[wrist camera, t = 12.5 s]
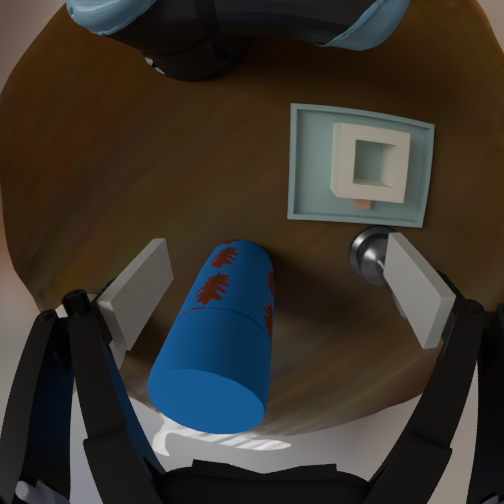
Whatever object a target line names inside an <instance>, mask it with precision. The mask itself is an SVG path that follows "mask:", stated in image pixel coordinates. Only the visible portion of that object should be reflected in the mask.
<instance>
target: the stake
mask: <svg viewBox="0 0 504 504" xmlns="http://www.w3.org/2000/svg"><path fill="white" fill-rule="evenodd" d="M389 233H396V232H395V231H394V230H392V229H391V228H389V227H386V226H382V225H376V226H371V227H368V228H366V229H364V230H363V231H361V232H360V233H359V234H358V235H357V236H356V237H355V238H354V240H353V242H352V244H351V246H350V249H349V262H350V265H351V267H352V269H353V271H354V272H355V273H356V274H357V275H358V276H359V277H361V278H364V279H365V280H366V281H367V282H368V283H370V284H372V285H376V286H383V285H385V286H386V288H387V290H388V292H389V293H390V295H391V297H392V299H393V301H394V302H395V304H396V306H397V308H398V310H399V312H400V314H401V316H402V317H403V318H404V319H405V320H408V318H407V317H406V315H405V313H404V311H403V309H402V307H401V305H400V303H399V302H398V300H397V298H396V296H395V294H394V293H393V291H392V289H391V287H390V286H389V284H388V282H387V280H386V279H385V277H384V275H383V272H384V266H385V259H386V253H387V245H388V238H389Z"/></svg>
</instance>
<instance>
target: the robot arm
mask: <svg viewBox="0 0 504 504" xmlns="http://www.w3.org/2000/svg"><path fill="white" fill-rule="evenodd" d="M409 2H410V0H67V1H66V4H67V10H68V13H69V15H70V16H71V17H72V19H73V20H74V21H75V22H76V23H78V24H79V25H81V26H83V27H85V28H87V29H88V30H90V31H91V32H92V33H94V34H97V35H104V36H107V37H110V38H112V39H115V40H117V41H120V42H122V43H125V44H127V45H129V46H132V47H134V48H136V49H139V50H141V52H142V54H143V56H144V58H145V60H146V61H147V63H148V64H149V65H150V66H151V67H152V68H153V69H154V70H155V71H157V72H158V73H160V74H162V75H164V76H167V77H169V78H172V79H175V80H180V81H198V80H203V79H207V78H210V77H213V76H215V75H217V74H219V73H221V72H223V71H225V70H226V69H228V68H229V67H230V66H231V65H233V64H234V63H235V62H236V61H237V60H238V59H239V58H240V56H241V55H242V54H243V52H244V51H245V49H246V47H247V45H248V42H249V39H250V37H264V38H276V39H285V40H294V41H301V42H308V43H314V44H315V45H316V46H320V47H328V46H333V47H339V48H345V49H350V50H356V51H363V50H367V49H369V48H374V47H376V46H378V45H379V44H381V43H382V42H383V41H385V40H386V39H387V38H388V37H389V36H390V35H391V34H392V32H393V31H394V30H395V29H396V27H397V26H398V24H399V23H400V21H401V19H402V18H403V16H404V14H405V12H406V10H407V7H408V5H409ZM383 275H384V277H385V279H386V280H387V282H388V284H389V286H390V287H391V289H392V291H393V293H394V294H395V296H396V298H397V300H398V302H399V303H400V305H401V307H402V309H403V311H404V313H405V315H406V317H407V318H408V320H409V322H410V324H411V326H412V328H413V330H414V332H415V334H416V336H417V338H418V340H419V342H420V344H421V346H422V348H423V349H428V348H434V347H437V345H438V343H439V340H440V338H441V337H442V339H443V341H444V345H443V347H442V349H441V351H440V354H439V356H438V358H437V362H436V365H435V367H434V369H433V372H432V374H431V376H430V379H429V381H428V383H427V385H426V388H425V390H424V392H423V394H422V396H421V398H420V400H419V402H418V404H417V406H416V408H415V410H414V412H413V414H412V416H411V417H410V419H409V421H408V423H407V425H406V426H405V428H404V430H403V432H402V434H401V435H400V437H399V438H398V440H397V442H396V443H395V445H394V447H393V448H392V450H391V451H390V453H389V455H388V456H387V457H386V459H385V460H384V462H383V463H382V465H381V466H380V468H379V469H378V470H377V471H376V473H375V474H374V475H373V476H372V478H371V479H370V480H369V481H368V482H367V481H366V480H364V479H362V478H360V477H358V476H356V475H353V474H350V473H346V472H340V471H337V469H336V464H325V465H310V466H299V467H294V468H290V469H286V470H281V471H277V472H271V473H266V474H261V473H257V472H254V471H250V470H247V469H243V468H240V467H236V466H233V465H230V464H227V463H218V462H209V461H202V460H195V459H194V460H193V464H192V467H184V468H178V469H175V470H171V471H169V472H166V471H165V470H164V468H163V467H162V465H161V464H160V463H159V461H158V459H157V457H156V456H155V454H154V452H153V450H152V448H151V446H150V444H149V442H148V440H147V438H146V436H145V434H144V431H143V429H142V427H141V425H140V423H139V421H138V419H137V416H136V414H135V412H134V409H133V407H132V404H131V402H130V400H129V397H128V395H127V392H126V390H125V387H124V384H123V382H122V379H121V376H120V373H119V371H118V368H117V365H116V362H115V359H114V356H113V353H112V350H111V348H110V346H109V344H110V343H111V341H112V340H113V341H114V344H115V346H116V348H117V349H122V350H129V351H130V350H131V348H132V347H133V345H134V343H135V341H136V340H137V338H138V336H139V334H140V333H141V331H142V329H143V328H144V326H145V324H146V323H147V321H148V319H149V318H150V316H151V314H152V313H153V311H154V309H155V308H156V306H157V304H158V303H159V301H160V299H161V298H162V296H163V294H164V293H165V291H166V290H167V288H168V286H169V285H170V283H171V282H172V280H173V274H172V269H171V265H170V260H169V255H168V250H167V245H166V240H165V238H161V239H153V240H152V241H151V242H150V243H149V244H148V245H147V246H146V247H145V248H144V249H143V250H142V251H141V253H140V254H139V255H138V256H137V257H136V258H135V259H134V260H133V261H132V262H131V263H130V264H129V265H128V266H127V267H126V268H125V270H124V271H123V272H122V273H121V274H120V275H119V276H118V277H116V278H114V279H113V280H111V281H110V282H108V283H107V285H106V286H105V287H104V288H103V289H102V290H101V291H100V293H98V295H97V296H96V297H95V298H94V299H93V300H92V301H91V302H90V300H89V298H88V295H87V293H86V291H85V290H83V289H77V290H73V291H71V292H69V293H67V294H66V295H65V296H64V297H63V298H62V300H61V302H62V305H63V307H64V309H65V311H66V314H67V316H68V317H61V318H59V317H58V314H57V312H56V311H55V310H53V309H50V310H45V311H43V312H41V313H40V314H39V315H38V316H37V318H36V319H35V322H34V324H33V326H32V329H31V331H30V334H29V336H28V339H27V341H26V344H25V347H24V350H23V352H22V355H21V358H20V361H19V364H18V367H17V370H16V374H15V377H14V380H13V384H12V387H11V391H10V395H9V399H8V403H7V407H6V411H5V417H4V421H3V426H2V431H1V438H0V504H70V502H69V499H70V488H71V486H70V422H71V407H72V395H73V385H74V377H75V382H76V387H77V392H78V398H79V402H80V407H81V412H82V416H83V420H84V424H85V428H86V432H87V435H88V439H84V441H83V445H84V450H85V454H86V457H87V460H88V464H89V467H90V470H91V473H92V476H93V478H94V481H95V484H96V487H97V489H98V492H99V494H100V497H101V499H102V502H103V504H427V502H428V501H429V499H430V497H431V495H432V493H433V492H434V490H435V488H436V486H437V484H438V482H439V480H440V479H441V477H442V475H443V472H444V470H445V468H446V466H447V464H448V462H449V460H450V457H451V454H452V449H451V448H450V444H451V441H452V439H453V436H454V434H455V431H456V429H457V426H458V423H459V420H460V418H461V415H462V412H463V409H464V406H465V403H466V399H467V396H468V393H469V389H470V386H471V382H472V378H473V374H474V370H475V366H476V362H477V365H478V422H477V435H476V445H475V454H474V461H473V467H472V473H471V479H470V484H469V489H468V495H467V501H466V504H504V303H501V304H499V305H498V306H497V309H496V311H495V312H488V311H485V310H484V307H483V306H482V305H481V304H480V303H479V302H477V301H475V300H471V299H465V298H464V296H463V295H462V294H461V293H460V291H459V290H458V289H457V288H456V287H454V284H453V283H452V282H451V281H450V280H449V278H448V277H447V276H446V275H445V274H443V273H442V272H440V271H438V270H436V271H435V270H434V269H433V268H432V266H431V265H430V264H429V263H428V262H427V261H426V260H425V259H424V257H423V256H422V255H421V254H420V253H419V252H418V251H417V250H416V249H415V247H414V246H413V245H412V244H411V243H410V242H409V241H408V240H407V239H406V238H405V237H404V236H403V235H402V234H401V233H389V238H388V245H387V253H386V259H385V266H384V272H383Z"/></svg>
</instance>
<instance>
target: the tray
mask: <svg viewBox="0 0 504 504" xmlns="http://www.w3.org/2000/svg"><path fill="white" fill-rule="evenodd" d="M333 123H348V124H356V125H364V126H370V127H377V128H383V129H389V130H395V131H400V132H405V133H410V147H409V159H408V170H407V179H406V187H405V194H404V201H403V203H396V202H387V201H377V200H371V206H370V209H360V208H356V207H355V206H354V205H353V198H341V197H337V196H336V195H335V194H334V193H333V192H332V190H331V189H330V182H331V166H332V148H333ZM433 141H434V125H433V124H429V123H425V122H421V121H417V120H412V119H408V118H403V117H398V116H393V115H388V114H382V113H377V112H371V111H364V110H357V109H350V108H341V107H332V106H322V105H310V104H294V103H291V109H290V158H289V188H288V212H287V216H288V219H299V220H319V221H337V222H353V223H368V224H382V225H395V226H407V227H418V228H422V224H423V219H424V214H425V208H426V202H427V196H428V189H429V182H430V174H431V165H432V154H433ZM382 150H383V143H379V142H372V141H365V140H357V139H356V145H355V161H354V174H353V178H363V179H372V180H380V174H381V163H382Z"/></svg>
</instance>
